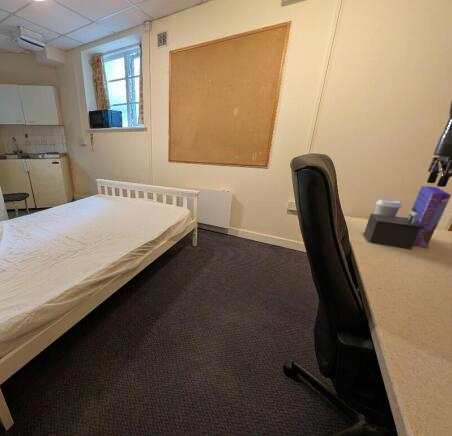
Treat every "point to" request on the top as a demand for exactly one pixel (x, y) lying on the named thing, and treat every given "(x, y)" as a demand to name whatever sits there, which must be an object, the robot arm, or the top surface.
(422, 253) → the top surface
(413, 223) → the lid
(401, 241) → the dark hinged box
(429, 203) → the cereal box
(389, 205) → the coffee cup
